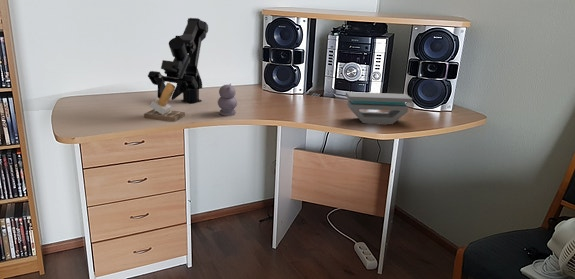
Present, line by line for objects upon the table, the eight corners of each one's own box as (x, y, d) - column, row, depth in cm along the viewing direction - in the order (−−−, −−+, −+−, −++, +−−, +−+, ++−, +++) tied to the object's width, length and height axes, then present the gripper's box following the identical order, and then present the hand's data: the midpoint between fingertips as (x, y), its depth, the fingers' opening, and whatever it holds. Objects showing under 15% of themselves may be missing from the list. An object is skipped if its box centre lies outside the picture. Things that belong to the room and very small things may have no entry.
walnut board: (154, 112, 174) (154, 108, 173) (184, 115, 171) (184, 112, 171) (144, 117, 166) (143, 113, 166) (175, 121, 164) (175, 117, 163)
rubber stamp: (156, 102, 170) (167, 79, 166) (168, 111, 170) (180, 88, 166) (149, 106, 166) (161, 82, 161) (162, 114, 166) (174, 91, 161)
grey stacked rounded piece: (218, 110, 180) (218, 82, 176) (237, 111, 181) (237, 82, 177) (217, 116, 172) (216, 86, 168) (236, 117, 173) (237, 87, 169)
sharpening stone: (346, 123, 173) (349, 96, 169) (343, 117, 180) (345, 91, 177) (408, 125, 175) (412, 98, 171) (402, 119, 182) (406, 94, 178)
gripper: (149, 49, 166) (133, 82, 159) (194, 54, 162) (180, 89, 155) (160, 67, 175) (146, 99, 169) (203, 73, 171) (190, 106, 165)
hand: (165, 98), depth 164 cm, fingers closed on rubber stamp, 5 cm apart
